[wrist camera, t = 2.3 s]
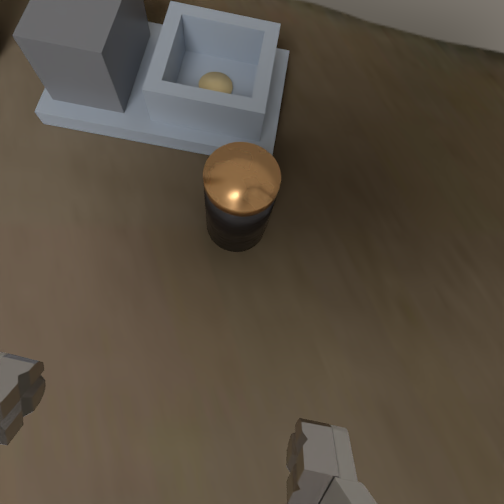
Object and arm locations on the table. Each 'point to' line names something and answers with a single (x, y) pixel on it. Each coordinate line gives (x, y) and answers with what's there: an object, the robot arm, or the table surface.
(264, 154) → the cylinder
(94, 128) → the checker
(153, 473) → the table surface
